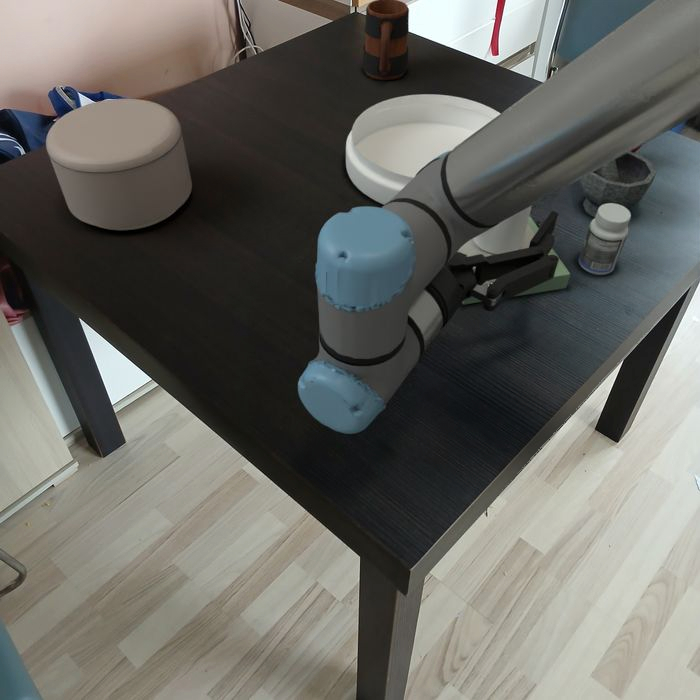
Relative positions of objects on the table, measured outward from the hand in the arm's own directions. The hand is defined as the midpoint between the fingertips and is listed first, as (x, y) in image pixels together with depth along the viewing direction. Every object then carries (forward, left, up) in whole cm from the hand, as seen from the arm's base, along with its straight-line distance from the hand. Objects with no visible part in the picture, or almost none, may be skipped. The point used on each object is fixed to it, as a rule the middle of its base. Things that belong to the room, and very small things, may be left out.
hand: (497, 202), depth 79 cm
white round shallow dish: (+27, -1, -11) cm, 29 cm away
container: (+28, +45, -11) cm, 54 cm away
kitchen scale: (+3, -2, -11) cm, 12 cm away
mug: (+59, -2, -11) cm, 60 cm away
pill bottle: (-1, -15, -11) cm, 19 cm away
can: (+3, -2, -8) cm, 9 cm away
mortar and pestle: (+11, -22, -11) cm, 27 cm away
